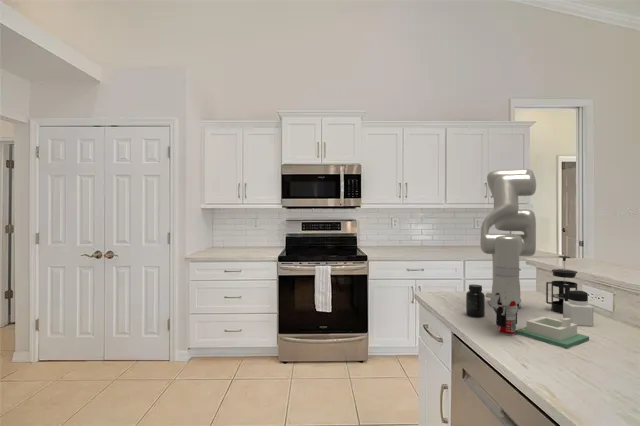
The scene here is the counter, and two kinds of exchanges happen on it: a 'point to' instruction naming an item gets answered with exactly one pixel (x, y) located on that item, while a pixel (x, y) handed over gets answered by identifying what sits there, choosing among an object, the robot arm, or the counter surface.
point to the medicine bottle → (578, 308)
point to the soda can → (509, 320)
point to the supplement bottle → (475, 301)
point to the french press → (560, 287)
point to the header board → (553, 332)
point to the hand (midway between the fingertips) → (506, 324)
